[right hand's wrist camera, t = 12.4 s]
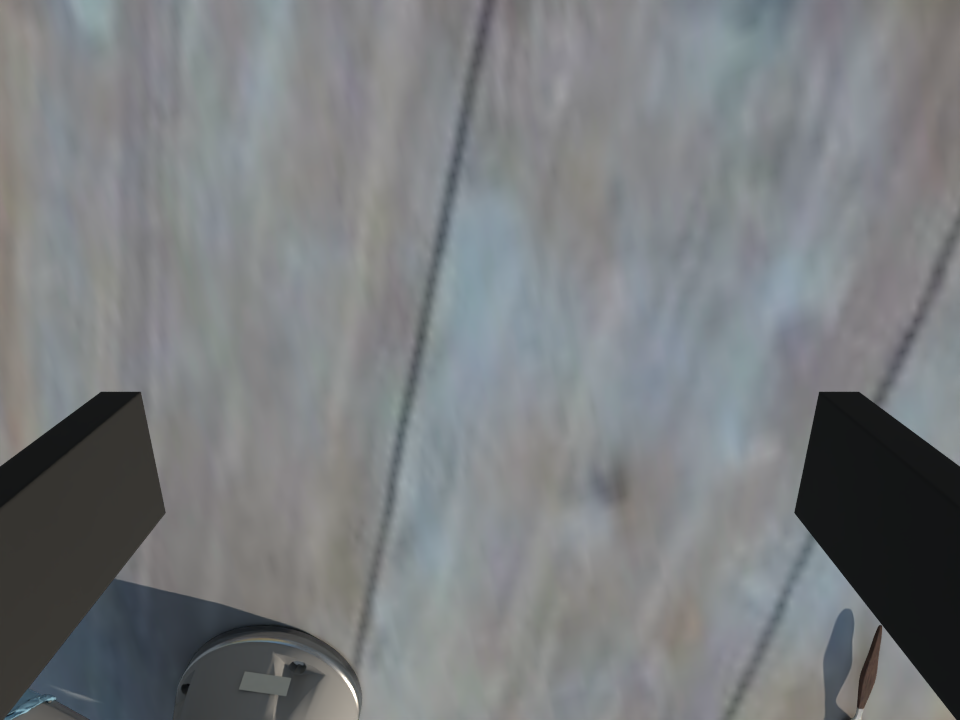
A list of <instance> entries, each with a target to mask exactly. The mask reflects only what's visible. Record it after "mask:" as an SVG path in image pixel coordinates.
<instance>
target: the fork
mask: <svg viewBox="0 0 960 720" xmlns="http://www.w3.org/2000/svg"><path fill="white" fill-rule="evenodd" d="M881 635H882V625H879V626H878V628H877V631H876V633H875V636H874V638H873V641H872V644H871V647H870V650H869V653H868V656H867V658H866V661H865V663H864V666H863V668H862V671H861V675H860V679H859V688H858V701H857V711H856V715H855V716H854V717H853V718H852V719H850V720H861V715H862V712H863V709H864V707H865V705H866V702H867V700H868V698H869V695H870V693H871V691H872V688H873V686H874V683H875V679H876V674H877V666H878V657H879V650H880V643H881Z"/></svg>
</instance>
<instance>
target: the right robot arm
mask: <svg viewBox="0 0 960 720" xmlns="http://www.w3.org/2000/svg"><path fill="white" fill-rule="evenodd" d="M165 513H166V512H165V508H164V503H163V498H162V493H161V488H160V483H159V478H158V474H157V469H156V464H155V459H154V454H153V449H152V444H151V439H150V435H149V430H148V425H147V420H146V415H145V410H144V405H143V401H142V396H141V392H100V393H99V394H98V395H96V396H95V397H94V398H92V399H91V400H89V401H88V402H87V403H85V404H84V405H83V406H81V407H80V408H79V409H77V410H76V411H75V412H73V413H72V414H71V415H69V416H68V417H67V418H65V419H64V420H62V421H61V422H60V423H58V424H57V425H56V426H54V427H53V428H52V429H50V430H49V431H48V432H46V433H45V434H44V435H42V436H41V437H40V438H38V439H37V440H35V441H34V442H33V443H31V444H30V445H29V446H27V447H26V448H25V449H23V450H22V451H21V452H19V453H18V454H17V455H15V456H14V457H13V458H11V459H10V460H8V461H7V462H6V463H4V464H3V465H2V466H0V720H89V719H88V718H86V717H84V716H82V715H80V714H79V713H77V712H75V711H73V710H71V709H69V708H68V707H66V706H64V705H62V704H60V703H59V702H57V701H56V697H54V696H52V695H48V694H45V695H41V694H39V693H37V692H34V691H32V690H30V689H28V688H29V687H30V685H31V684H32V683H33V682H34V680H35V679H36V678H37V676H38V675H39V674H40V673H41V671H42V670H43V669H44V667H45V666H46V665H47V664H48V662H49V661H50V660H51V659H52V657H53V656H54V655H55V653H56V652H57V651H58V650H59V648H60V647H61V646H62V644H63V643H64V642H65V641H66V639H67V638H68V637H69V636H70V634H71V633H72V632H73V630H74V629H75V628H76V627H77V625H78V624H79V623H80V621H81V620H82V619H83V618H84V616H85V615H86V614H87V613H88V611H89V610H90V609H91V607H92V606H93V605H94V604H95V602H96V601H97V600H98V599H99V597H100V596H101V595H102V593H103V592H104V591H105V590H106V588H107V587H108V586H109V584H110V583H111V582H112V581H113V579H114V578H115V577H116V576H117V574H118V573H119V572H120V570H121V569H122V568H123V567H124V565H125V564H126V563H127V561H128V560H129V559H130V558H131V556H132V555H133V554H134V553H135V551H136V550H137V549H138V547H139V546H140V545H141V544H142V542H143V541H144V540H145V538H146V537H147V536H148V535H149V533H150V532H151V531H152V530H153V528H154V527H155V526H156V524H157V523H158V522H159V521H160V519H161V518H162V517H163V516H164V514H165ZM794 513H795V514H796V516H797V517H798V518H799V519H800V521H801V522H802V523H803V524H804V526H805V527H806V528H807V530H808V531H809V532H810V533H811V535H812V536H813V537H814V538H815V540H816V541H817V542H818V544H819V545H820V546H821V547H822V549H823V550H824V551H825V553H826V554H827V555H828V556H829V558H830V559H831V560H832V561H833V563H834V564H835V565H836V567H837V568H838V569H839V570H840V572H841V573H842V574H843V576H844V577H845V578H846V579H847V581H848V582H849V583H850V584H851V586H852V587H853V588H854V590H855V591H856V592H857V593H858V595H859V596H860V597H861V599H862V600H863V601H864V602H865V604H866V605H867V606H868V607H869V609H870V610H871V611H872V613H873V614H874V615H875V616H876V618H877V619H878V620H879V621H880V623H881V624H882V625H883V627H884V628H885V629H886V630H887V632H888V633H889V634H890V636H891V637H892V638H893V639H894V641H895V642H896V643H897V644H898V646H899V647H900V648H901V650H902V651H903V652H904V653H905V655H906V656H907V657H908V659H909V660H910V661H911V662H912V664H913V665H914V666H915V667H916V669H917V670H918V671H919V673H920V674H921V675H922V676H923V678H924V679H925V680H926V682H927V683H928V684H929V685H930V687H931V688H932V689H933V690H934V692H935V693H936V694H937V696H938V697H939V698H940V699H941V701H942V702H943V703H944V704H945V706H946V707H947V708H948V710H949V711H950V712H951V713H952V715H953V716H954V717H955V719H956V720H960V466H958V465H957V464H956V463H954V462H953V461H952V460H950V459H949V458H947V457H946V456H945V455H943V454H942V453H941V452H939V451H938V450H937V449H935V448H934V447H933V446H931V445H930V444H929V443H927V442H926V441H925V440H923V439H922V438H920V437H919V436H918V435H916V434H915V433H914V432H912V431H911V430H910V429H908V428H907V427H906V426H904V425H903V424H902V423H900V422H899V421H898V420H896V419H895V418H893V417H892V416H891V415H889V414H888V413H887V412H885V411H884V410H883V409H881V408H880V407H879V406H877V405H876V404H875V403H873V402H872V401H871V400H869V399H868V398H866V397H865V396H864V395H862V394H861V393H860V392H819V396H818V401H817V405H816V410H815V415H814V420H813V425H812V430H811V435H810V439H809V444H808V449H807V454H806V459H805V464H804V469H803V474H802V478H801V483H800V488H799V493H798V498H797V503H796V508H795V512H794ZM361 705H362V693H361V687H360V684H359V681H358V678H357V676H356V674H355V672H354V671H353V669H352V668H351V666H350V665H349V663H348V662H347V661H346V660H345V659H344V658H343V657H342V656H341V655H340V654H339V653H338V652H337V651H336V650H335V649H333V648H332V647H330V646H329V645H328V644H326V643H324V642H323V641H321V640H319V639H317V638H315V637H313V636H311V635H308V634H306V633H303V632H300V631H297V630H293V629H289V628H284V627H277V626H249V627H243V628H238V629H234V630H231V631H228V632H225V633H223V634H221V635H218V636H216V637H215V638H213V639H211V640H210V641H208V642H207V643H206V644H204V645H203V646H202V647H201V648H200V649H199V650H198V651H197V652H196V654H195V655H194V656H193V658H192V659H191V661H190V663H189V665H188V667H187V668H186V670H185V672H184V674H183V676H182V678H181V680H180V682H179V685H178V689H177V694H176V699H175V708H174V715H173V720H359V716H360V711H361Z"/></svg>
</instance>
